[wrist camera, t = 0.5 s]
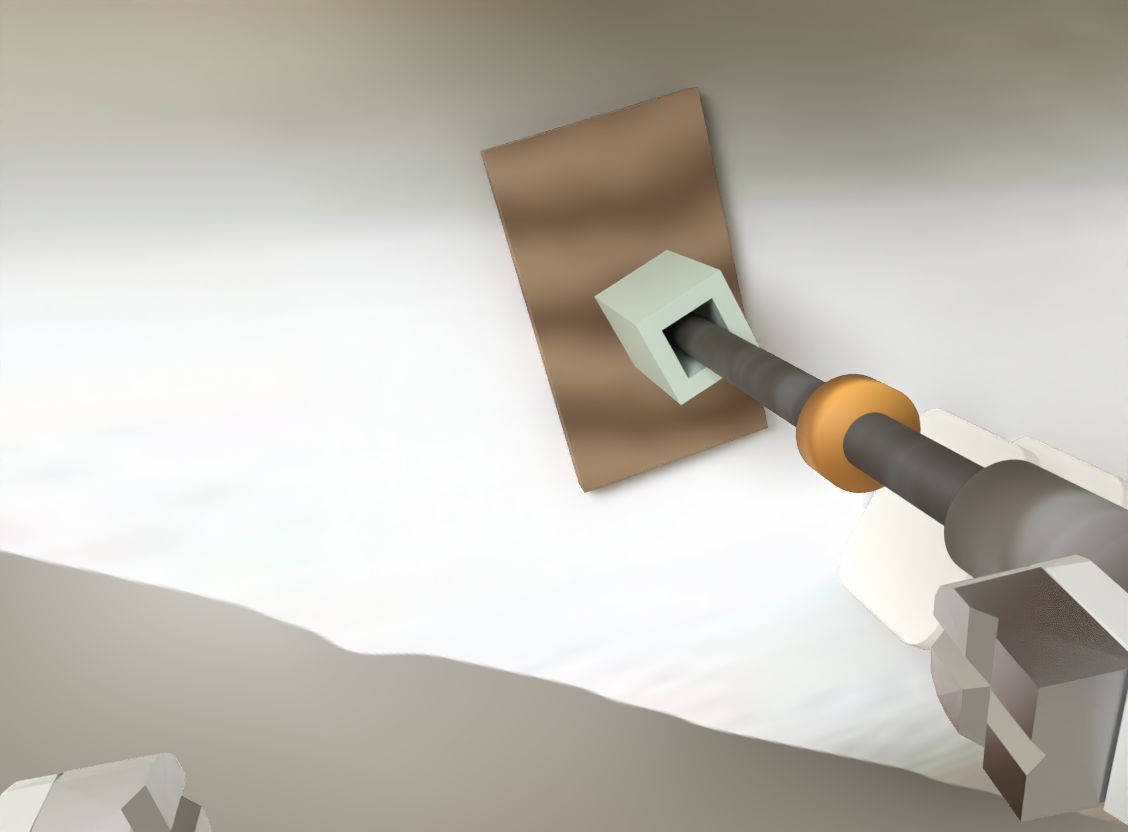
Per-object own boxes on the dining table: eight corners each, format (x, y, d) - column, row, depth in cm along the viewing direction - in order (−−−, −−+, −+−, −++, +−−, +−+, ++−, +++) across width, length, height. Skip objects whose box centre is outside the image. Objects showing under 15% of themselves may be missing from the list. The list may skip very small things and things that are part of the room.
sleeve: (594, 296, 51) (635, 324, 44) (667, 249, 51) (720, 269, 44) (635, 366, 53) (681, 405, 46) (705, 321, 53) (762, 352, 46)
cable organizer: (923, 386, 63) (1042, 440, 52) (1030, 437, 66) (1163, 497, 55) (823, 569, 65) (916, 655, 55) (930, 609, 69) (1038, 698, 58)
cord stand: (480, 151, 51) (781, 200, 15) (688, 88, 53) (1407, -3, 17) (579, 484, 59) (933, 1037, 23) (758, 420, 60) (1352, 846, 24)
